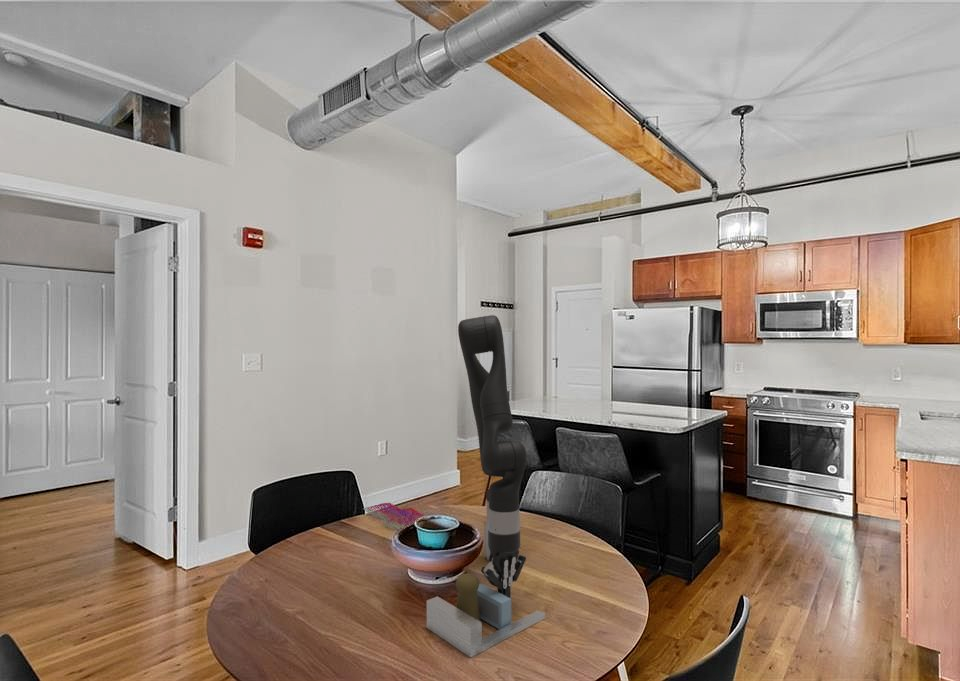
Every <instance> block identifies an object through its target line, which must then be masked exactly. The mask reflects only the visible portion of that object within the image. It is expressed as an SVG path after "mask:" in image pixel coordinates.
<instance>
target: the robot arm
mask: <svg viewBox="0 0 960 681" xmlns="http://www.w3.org/2000/svg"><path fill="white" fill-rule="evenodd" d="M457 328H458V329H457V332H458V333H457V334H458V340H459V345H460V349H461V353H462V356H463V362H464V365H465V369H466V374H467V377H468V385H469V391H470V392H469V393H470V399H471V405H472V410H473V416H474V419H475V424H476V425H475V426H476V430H477V436H478V445H479V448H478V449H479V458H480V459H479V460H480V465H481V466H480V467H481V470H482V472H483V474H485V476H489V477H495V478H496V477H497V478H500V477H501V479H499V480H495V481H494V482H491V484H490V485H489V488H488V489H487V490H486V523H485V524H484V527H483V528H484V529H483V530H484V532H483V533H484V534H483V537H484V538H483V539H484V541H483V542H484V543H483V544H484V546H483V547H484V548H483V549H484V550H483V551H484V554H483V556H484V557H485V558H486V560H487V561H488V563H487V565H486V566H482V567H481V568H480V569H481V570H480V571H481V573H482V575H484V577H485V578H486V580H487V581H488V582H489V584H490V585H491V586H493V587H495V588H497V591H498V592H499V593H501V594H503V595H505V596H507V597H509V598H511V595H512V594H511V589H512V588H511V587H512V585H513V583H514V582H517V581H518V579H519V576H520V574H521V573H522V570H523V567H524V565H525V563H526V559H527V557H526V556H524V555H523V554H520V548H521V515H520V514H521V513H520V490H521V489H520V488H521V485H522V481H523V477H524V472H525V469H526V465H527V458H528V455H527V450H526V447H525V445H524V444H523V443H522V442H520V441H519V440H505V441H504V440H503V441H498V440H497V438H498V435H500V434H502V433H506V432H509V431H510V430H512V428H513V425H514V424H513V416H512V410H511V405H510V399H509V393H508V383H507V382H508V381H507V367H506V366H507V364H506V353H505V343H504V335H503V329H502V325H501V322H500V319H499V317H498V316H496V315H494V314H491V315H485V316H478V317H471V318H465V319H462V320H461V321H459V323H458V325H457ZM489 352H492V361H491V362H492V363H491V367H490V370H489V371H487V370H486V368H484V366H483V365H482V364H481V362H480V360H479V359H478V357H477V354H478V355H479V354H485V353H489Z"/></svg>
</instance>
